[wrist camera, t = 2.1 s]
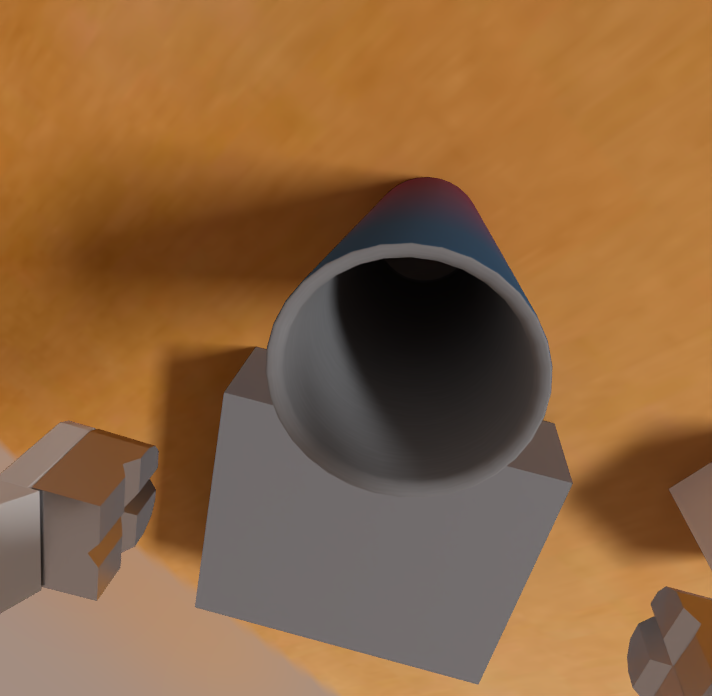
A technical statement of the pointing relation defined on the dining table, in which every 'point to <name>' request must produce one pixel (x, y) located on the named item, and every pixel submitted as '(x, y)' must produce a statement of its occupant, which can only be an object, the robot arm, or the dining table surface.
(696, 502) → the white cube
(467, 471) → the cup
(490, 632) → the plinth
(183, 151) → the dining table surface
